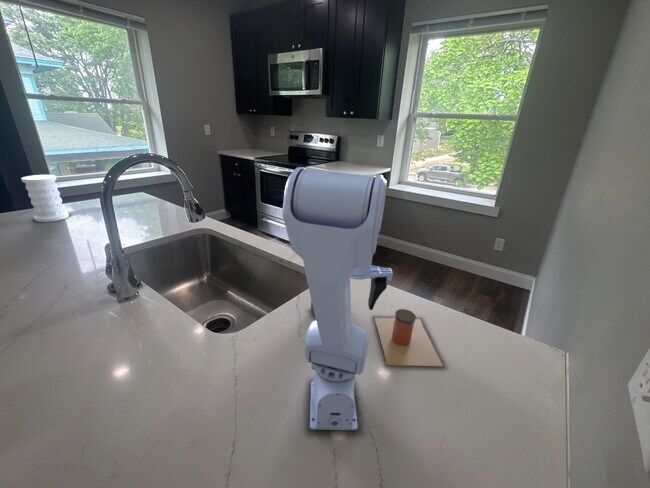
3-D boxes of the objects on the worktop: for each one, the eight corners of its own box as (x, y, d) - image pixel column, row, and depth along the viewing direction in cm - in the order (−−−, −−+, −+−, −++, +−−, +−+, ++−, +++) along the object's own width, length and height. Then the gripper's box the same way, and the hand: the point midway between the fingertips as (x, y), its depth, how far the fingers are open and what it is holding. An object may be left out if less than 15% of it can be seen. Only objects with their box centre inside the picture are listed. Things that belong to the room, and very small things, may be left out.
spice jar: (413, 346, 68) (418, 321, 66) (393, 345, 68) (398, 321, 66) (407, 333, 73) (412, 309, 70) (389, 332, 72) (393, 308, 70)
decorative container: (60, 221, 129) (46, 180, 122) (28, 222, 126) (12, 179, 119) (74, 213, 139) (62, 174, 132) (44, 213, 136) (31, 174, 129)
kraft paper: (442, 366, 63) (442, 366, 63) (387, 365, 63) (387, 364, 63) (419, 319, 78) (419, 319, 78) (374, 318, 78) (374, 317, 78)
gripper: (390, 243, 63) (382, 297, 68) (322, 239, 62) (319, 294, 68) (398, 257, 56) (388, 316, 62) (322, 254, 56) (319, 313, 61)
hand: (352, 306), depth 64 cm, fingers open, 7 cm apart
